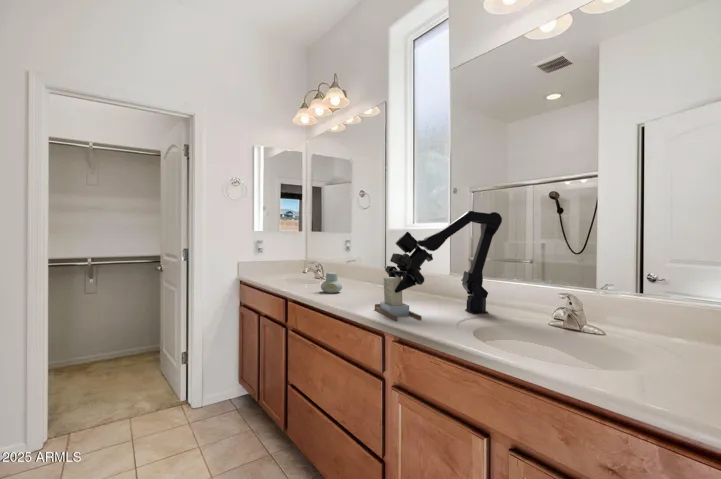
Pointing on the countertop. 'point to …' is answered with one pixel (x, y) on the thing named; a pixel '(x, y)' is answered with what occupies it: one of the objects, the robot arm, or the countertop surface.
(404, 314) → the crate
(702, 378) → the countertop surface
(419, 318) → the bay
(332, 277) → the air freshener
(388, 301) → the skincare box
